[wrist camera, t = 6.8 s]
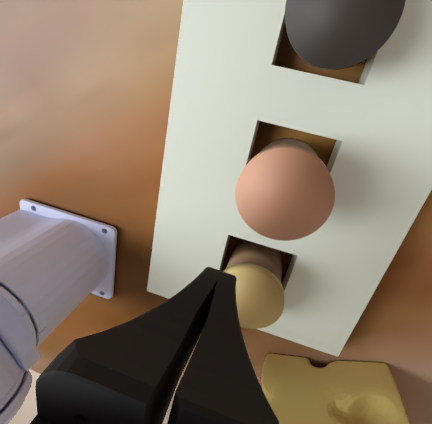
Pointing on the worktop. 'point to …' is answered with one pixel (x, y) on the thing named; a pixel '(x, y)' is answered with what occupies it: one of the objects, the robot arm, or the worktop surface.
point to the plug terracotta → (285, 191)
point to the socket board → (303, 121)
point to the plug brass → (257, 284)
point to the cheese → (331, 392)
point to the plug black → (340, 29)
